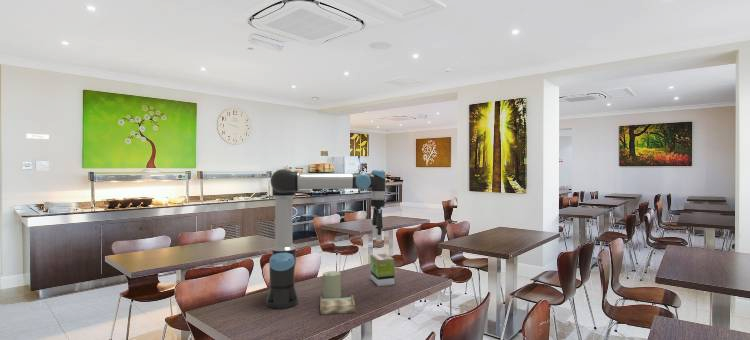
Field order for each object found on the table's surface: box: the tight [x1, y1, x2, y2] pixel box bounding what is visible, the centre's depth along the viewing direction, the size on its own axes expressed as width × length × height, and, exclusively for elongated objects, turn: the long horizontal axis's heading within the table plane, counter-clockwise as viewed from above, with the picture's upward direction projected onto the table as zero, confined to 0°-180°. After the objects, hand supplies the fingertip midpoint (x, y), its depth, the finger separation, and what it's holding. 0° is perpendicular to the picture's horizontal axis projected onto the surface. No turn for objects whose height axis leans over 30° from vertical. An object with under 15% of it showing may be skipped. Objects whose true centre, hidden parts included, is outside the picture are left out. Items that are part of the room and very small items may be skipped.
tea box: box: [369, 253, 396, 287], centre depth 234 cm, size 15×10×15 cm, turn 17°
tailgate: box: [322, 296, 351, 301], centre depth 202 cm, size 16×4×1 cm, turn 97°
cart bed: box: [319, 294, 356, 315], centre depth 192 cm, size 16×16×4 cm
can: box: [322, 270, 342, 299], centre depth 210 cm, size 9×9×12 cm
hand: (376, 239), depth 218 cm, fingers open, 13 cm apart
